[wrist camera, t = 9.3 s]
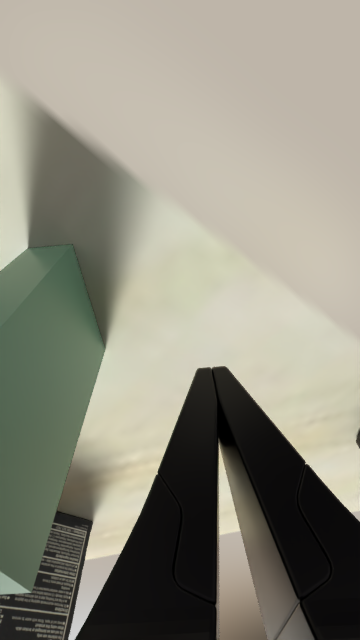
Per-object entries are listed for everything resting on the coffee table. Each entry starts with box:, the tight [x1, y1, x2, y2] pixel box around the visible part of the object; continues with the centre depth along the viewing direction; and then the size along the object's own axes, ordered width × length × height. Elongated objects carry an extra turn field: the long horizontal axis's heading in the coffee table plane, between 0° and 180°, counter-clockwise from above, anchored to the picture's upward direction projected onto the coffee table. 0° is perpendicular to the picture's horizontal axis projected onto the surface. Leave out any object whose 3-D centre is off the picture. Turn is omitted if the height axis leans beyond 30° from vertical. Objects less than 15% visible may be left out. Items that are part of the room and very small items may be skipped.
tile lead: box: [0, 244, 105, 595], centre depth 9 cm, size 2×6×9 cm, turn 5°
